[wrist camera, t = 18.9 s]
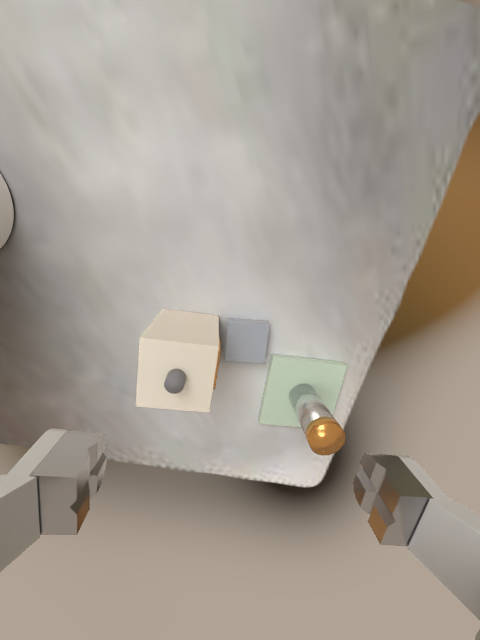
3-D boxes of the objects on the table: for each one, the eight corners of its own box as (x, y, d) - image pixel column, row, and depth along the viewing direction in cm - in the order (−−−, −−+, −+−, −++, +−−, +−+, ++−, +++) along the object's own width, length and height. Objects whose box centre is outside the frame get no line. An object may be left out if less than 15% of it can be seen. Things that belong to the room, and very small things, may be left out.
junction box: (158, 359, 40) (131, 415, 28) (163, 308, 38) (135, 343, 25) (214, 365, 42) (212, 422, 29) (221, 315, 39) (223, 353, 26)
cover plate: (224, 354, 42) (224, 361, 39) (227, 317, 40) (227, 322, 38) (262, 356, 42) (264, 363, 40) (266, 320, 41) (269, 325, 38)
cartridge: (286, 407, 43) (306, 455, 34) (290, 382, 42) (313, 423, 32) (313, 408, 44) (340, 455, 34) (318, 383, 43) (348, 425, 33)
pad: (258, 419, 45) (259, 423, 44) (271, 353, 42) (273, 356, 41) (325, 424, 46) (328, 429, 45) (343, 362, 43) (347, 365, 42)
